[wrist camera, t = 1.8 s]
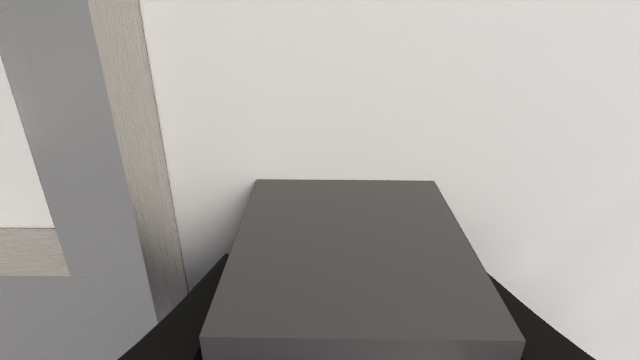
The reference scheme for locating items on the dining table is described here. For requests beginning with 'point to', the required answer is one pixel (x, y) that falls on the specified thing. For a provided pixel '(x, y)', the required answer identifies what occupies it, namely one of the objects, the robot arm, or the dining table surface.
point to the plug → (355, 279)
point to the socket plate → (87, 185)
